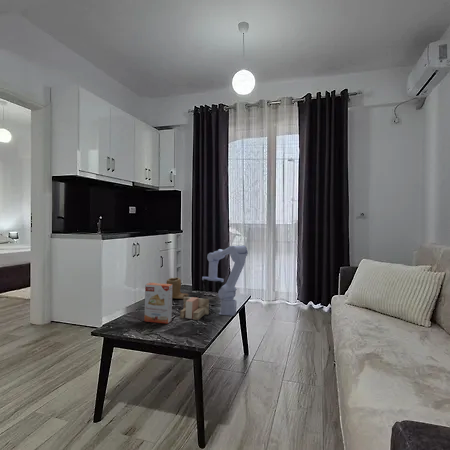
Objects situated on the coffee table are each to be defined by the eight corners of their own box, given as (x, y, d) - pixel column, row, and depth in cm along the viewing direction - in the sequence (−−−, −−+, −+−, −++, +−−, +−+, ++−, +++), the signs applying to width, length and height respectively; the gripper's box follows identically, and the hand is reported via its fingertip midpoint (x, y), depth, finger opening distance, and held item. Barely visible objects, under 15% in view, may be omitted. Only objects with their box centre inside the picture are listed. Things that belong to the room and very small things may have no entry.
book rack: (208, 313, 194) (209, 299, 194) (201, 320, 181) (201, 304, 181) (184, 311, 198) (184, 296, 198) (175, 317, 185) (175, 302, 185)
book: (197, 314, 193) (198, 297, 193) (191, 319, 183) (192, 301, 183) (191, 313, 194) (192, 297, 194) (185, 318, 184) (185, 301, 184)
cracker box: (143, 321, 175) (144, 284, 175) (148, 318, 181) (149, 282, 181) (167, 324, 172) (168, 285, 172) (171, 320, 178) (172, 283, 178)
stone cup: (162, 299, 226) (163, 278, 226) (169, 295, 238) (170, 275, 238) (183, 301, 223) (183, 279, 222) (188, 297, 234) (189, 277, 234)
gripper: (200, 270, 206) (199, 291, 206) (221, 273, 201) (220, 294, 201) (205, 269, 213) (204, 289, 213) (225, 271, 207) (224, 292, 208)
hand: (212, 291), depth 207 cm, fingers open, 7 cm apart
